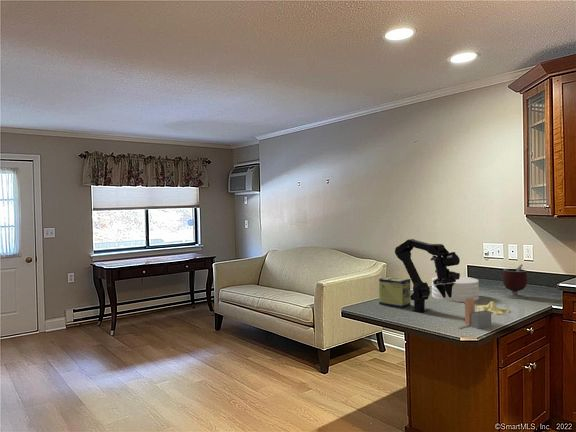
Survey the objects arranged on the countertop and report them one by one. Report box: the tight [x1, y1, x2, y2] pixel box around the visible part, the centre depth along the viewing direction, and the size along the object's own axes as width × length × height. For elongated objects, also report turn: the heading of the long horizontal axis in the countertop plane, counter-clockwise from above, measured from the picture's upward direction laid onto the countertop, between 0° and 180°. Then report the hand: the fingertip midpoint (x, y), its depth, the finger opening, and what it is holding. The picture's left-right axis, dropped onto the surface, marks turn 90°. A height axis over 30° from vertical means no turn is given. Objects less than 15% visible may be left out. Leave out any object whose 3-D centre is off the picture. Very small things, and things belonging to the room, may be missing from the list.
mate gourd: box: [502, 264, 528, 300], centre depth 278 cm, size 16×14×20 cm
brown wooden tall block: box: [464, 298, 476, 325], centre depth 216 cm, size 2×4×12 cm, turn 120°
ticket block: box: [457, 310, 492, 330], centre depth 210 cm, size 6×17×7 cm, turn 120°
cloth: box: [475, 300, 511, 316], centre depth 242 cm, size 22×19×6 cm
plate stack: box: [431, 275, 480, 303], centre depth 280 cm, size 28×28×12 cm
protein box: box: [378, 276, 412, 309], centre depth 260 cm, size 10×16×16 cm
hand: (447, 297), depth 228 cm, fingers open, 9 cm apart
